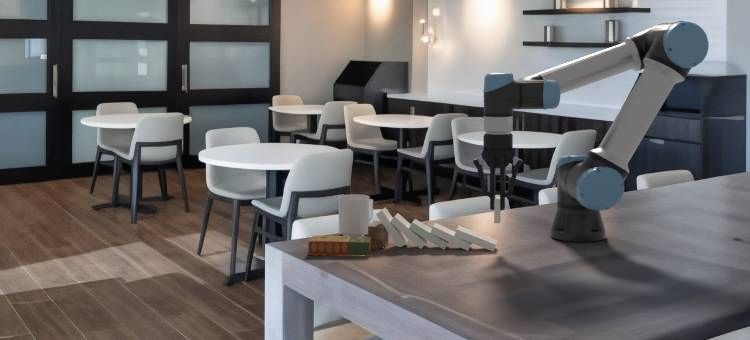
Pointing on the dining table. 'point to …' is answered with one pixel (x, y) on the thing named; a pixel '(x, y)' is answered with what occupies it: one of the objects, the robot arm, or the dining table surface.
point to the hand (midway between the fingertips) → (497, 222)
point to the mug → (354, 214)
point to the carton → (340, 245)
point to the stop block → (378, 234)
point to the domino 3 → (427, 234)
